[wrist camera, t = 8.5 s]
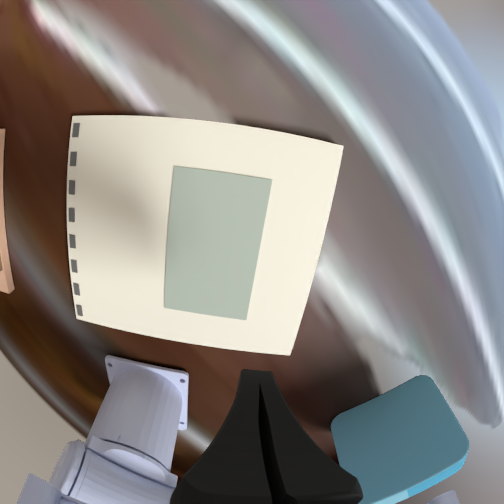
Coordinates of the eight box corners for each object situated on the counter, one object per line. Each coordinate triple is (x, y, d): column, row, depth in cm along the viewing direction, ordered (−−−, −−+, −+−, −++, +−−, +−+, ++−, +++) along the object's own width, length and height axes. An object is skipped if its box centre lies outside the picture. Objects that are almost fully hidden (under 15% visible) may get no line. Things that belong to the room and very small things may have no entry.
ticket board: (288, 347, 23) (290, 356, 22) (81, 312, 22) (76, 319, 21) (338, 145, 18) (344, 146, 17) (79, 116, 16) (71, 115, 15)
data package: (338, 433, 29) (359, 517, 17) (327, 417, 27) (350, 511, 16) (428, 390, 27) (469, 464, 16) (426, 369, 25) (475, 450, 14)
